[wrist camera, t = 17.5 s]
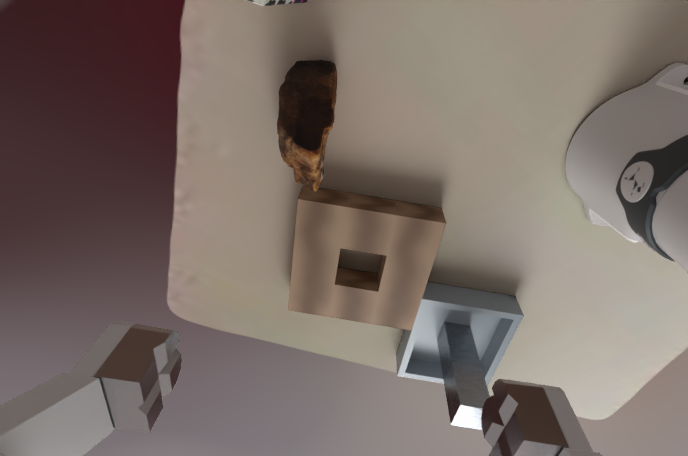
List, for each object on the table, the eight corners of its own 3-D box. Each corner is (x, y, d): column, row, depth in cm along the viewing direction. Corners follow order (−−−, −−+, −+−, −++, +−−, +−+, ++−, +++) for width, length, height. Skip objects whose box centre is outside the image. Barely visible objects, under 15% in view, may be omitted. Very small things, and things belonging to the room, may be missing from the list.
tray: (515, 296, 56) (523, 315, 53) (479, 369, 64) (485, 390, 61) (419, 280, 56) (421, 298, 53) (396, 355, 64) (397, 375, 61)
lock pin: (470, 325, 58) (493, 410, 46) (462, 344, 60) (482, 430, 48) (444, 321, 58) (460, 405, 46) (436, 340, 60) (450, 424, 48)
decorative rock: (330, 164, 48) (319, 203, 39) (282, 155, 48) (259, 193, 39) (346, 62, 42) (337, 80, 33) (291, 51, 42) (266, 66, 33)
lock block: (441, 207, 50) (446, 223, 47) (409, 311, 59) (411, 330, 56) (303, 185, 50) (297, 199, 47) (293, 292, 59) (287, 310, 56)
